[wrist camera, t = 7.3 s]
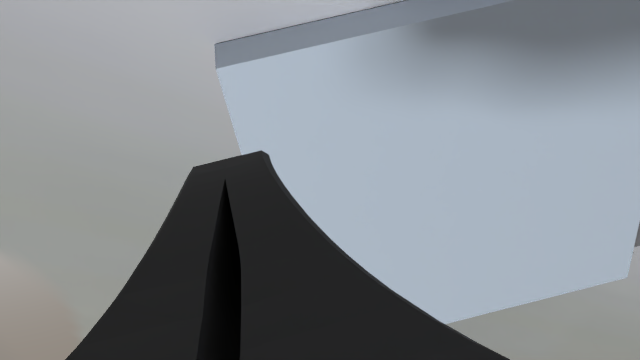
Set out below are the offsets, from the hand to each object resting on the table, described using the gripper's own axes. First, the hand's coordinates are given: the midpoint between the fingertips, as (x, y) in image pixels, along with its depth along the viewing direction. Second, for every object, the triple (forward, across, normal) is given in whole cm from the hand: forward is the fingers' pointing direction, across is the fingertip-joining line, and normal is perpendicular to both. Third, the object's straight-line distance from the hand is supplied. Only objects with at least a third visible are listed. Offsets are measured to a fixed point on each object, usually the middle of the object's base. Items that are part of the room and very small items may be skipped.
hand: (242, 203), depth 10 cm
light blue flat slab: (+9, -7, +8) cm, 14 cm away
